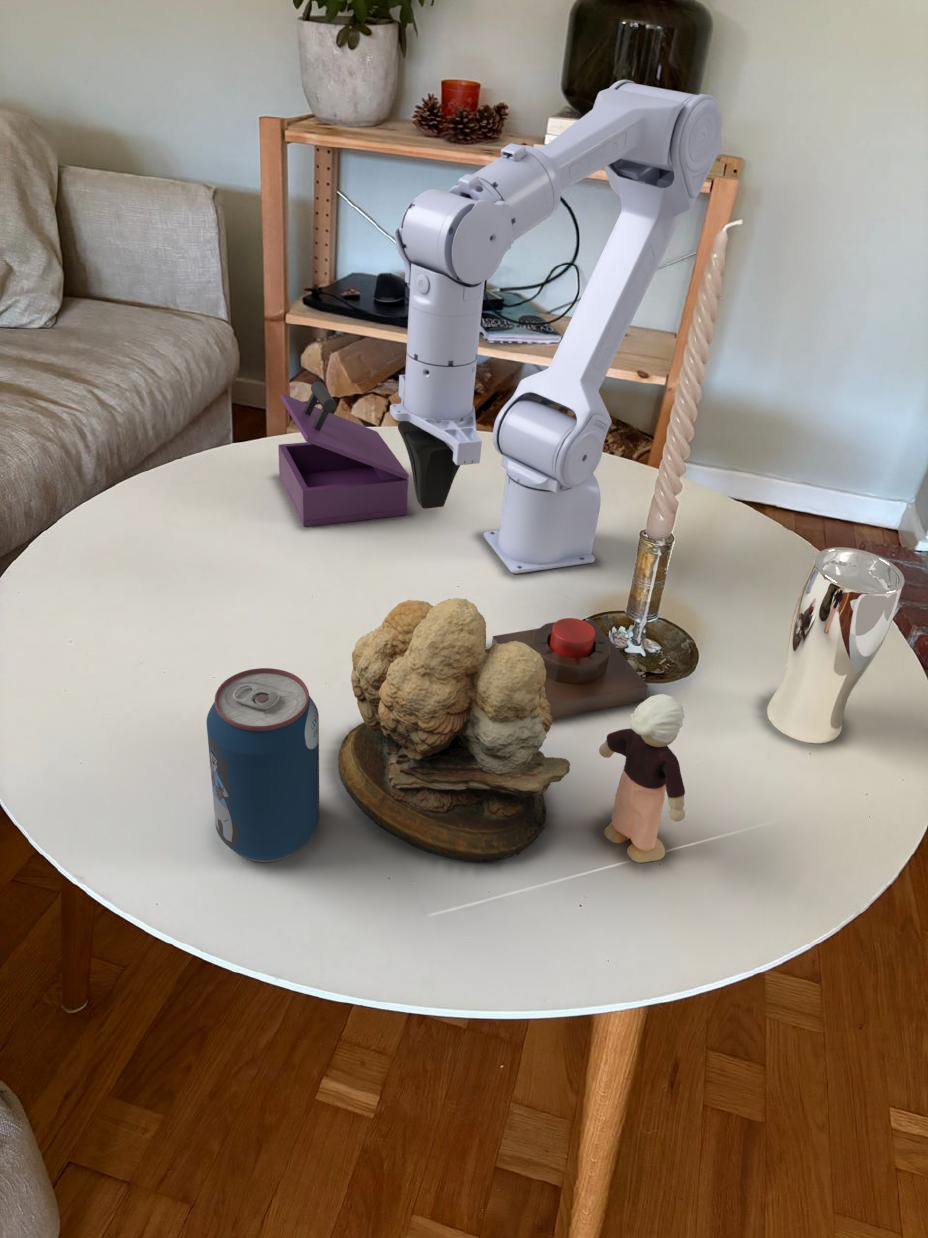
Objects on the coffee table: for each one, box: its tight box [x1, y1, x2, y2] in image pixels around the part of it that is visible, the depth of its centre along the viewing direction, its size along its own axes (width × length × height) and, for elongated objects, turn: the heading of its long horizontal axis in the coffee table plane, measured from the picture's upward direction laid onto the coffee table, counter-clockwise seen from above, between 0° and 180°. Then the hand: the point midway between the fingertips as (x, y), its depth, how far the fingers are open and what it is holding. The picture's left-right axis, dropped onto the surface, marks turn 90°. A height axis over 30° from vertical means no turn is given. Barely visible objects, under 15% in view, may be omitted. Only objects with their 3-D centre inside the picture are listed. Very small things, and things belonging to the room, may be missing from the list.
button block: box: [491, 619, 649, 720], centre depth 82 cm, size 10×10×4 cm
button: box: [550, 617, 595, 659], centre depth 81 cm, size 4×4×2 cm
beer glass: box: [766, 546, 905, 744], centre depth 76 cm, size 7×7×15 cm
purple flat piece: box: [279, 380, 410, 480], centre depth 102 cm, size 12×11×4 cm
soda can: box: [206, 667, 320, 863], centre depth 62 cm, size 7×7×12 cm
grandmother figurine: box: [598, 693, 686, 864], centre depth 65 cm, size 8×4×13 cm, turn 48°
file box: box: [277, 441, 409, 527], centre depth 105 cm, size 11×11×4 cm
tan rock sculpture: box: [337, 597, 571, 862], centre depth 66 cm, size 18×12×17 cm, turn 55°
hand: (430, 504), depth 85 cm, fingers closed
